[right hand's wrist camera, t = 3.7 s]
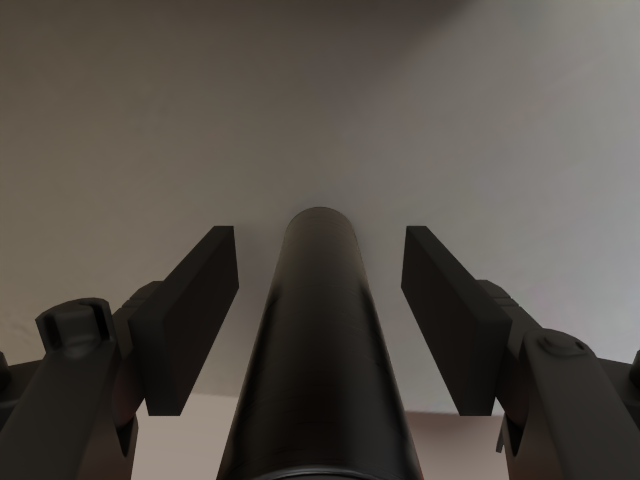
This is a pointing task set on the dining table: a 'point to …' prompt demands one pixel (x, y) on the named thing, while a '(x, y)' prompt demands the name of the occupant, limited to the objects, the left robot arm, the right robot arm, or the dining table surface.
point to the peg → (320, 371)
